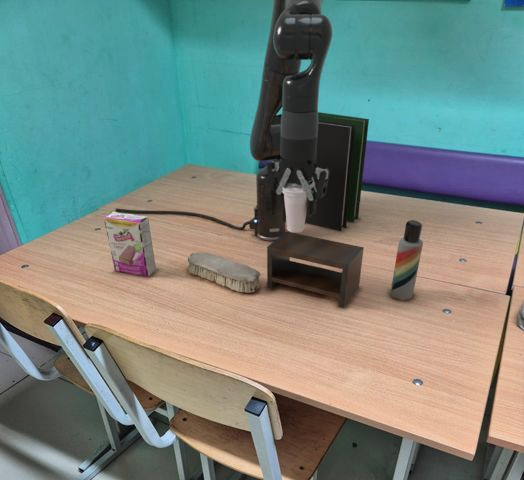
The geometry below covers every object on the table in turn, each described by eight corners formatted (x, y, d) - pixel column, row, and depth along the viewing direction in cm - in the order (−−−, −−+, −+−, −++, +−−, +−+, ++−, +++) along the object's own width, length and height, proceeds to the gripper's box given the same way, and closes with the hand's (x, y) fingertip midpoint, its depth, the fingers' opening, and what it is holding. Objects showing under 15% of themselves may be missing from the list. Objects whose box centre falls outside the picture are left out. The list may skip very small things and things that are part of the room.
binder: (359, 218, 171) (370, 118, 152) (338, 232, 162) (347, 128, 142) (293, 202, 184) (295, 109, 165) (270, 215, 174) (270, 117, 155)
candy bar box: (114, 272, 141) (102, 217, 131) (123, 264, 145) (112, 210, 135) (148, 278, 138) (139, 222, 128) (157, 270, 142) (148, 215, 132)
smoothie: (307, 236, 109) (310, 172, 101) (278, 233, 110) (280, 170, 102) (311, 224, 114) (314, 163, 106) (284, 222, 115) (285, 161, 107)
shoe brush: (181, 273, 140) (179, 257, 137) (199, 263, 145) (197, 247, 142) (249, 297, 129) (248, 280, 126) (265, 286, 134) (265, 269, 131)
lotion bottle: (387, 290, 131) (399, 217, 119) (408, 288, 132) (422, 216, 120) (394, 301, 127) (406, 227, 115) (415, 299, 127) (430, 226, 115)
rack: (267, 287, 133) (266, 246, 126) (285, 270, 141) (286, 231, 133) (343, 307, 124) (348, 264, 117) (358, 288, 132) (363, 247, 125)
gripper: (339, 133, 100) (332, 213, 110) (276, 125, 105) (275, 201, 115) (324, 142, 94) (318, 225, 105) (259, 133, 100) (259, 212, 110)
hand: (296, 212), depth 110 cm, fingers closed on smoothie, 6 cm apart
